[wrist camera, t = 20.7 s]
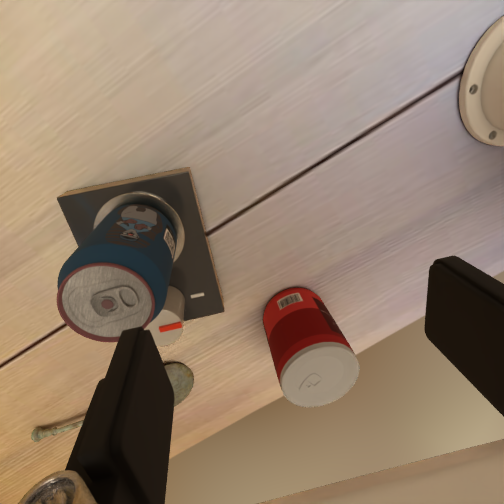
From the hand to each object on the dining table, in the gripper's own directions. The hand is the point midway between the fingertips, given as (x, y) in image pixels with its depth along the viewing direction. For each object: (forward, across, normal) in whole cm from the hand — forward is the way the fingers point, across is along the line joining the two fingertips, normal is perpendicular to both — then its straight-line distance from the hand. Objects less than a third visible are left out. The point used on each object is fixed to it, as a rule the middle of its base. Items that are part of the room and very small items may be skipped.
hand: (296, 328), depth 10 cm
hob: (+24, +10, +6) cm, 27 cm away
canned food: (+24, -4, +18) cm, 31 cm away
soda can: (+22, +10, +3) cm, 24 cm away
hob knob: (+22, +10, +11) cm, 26 cm away
